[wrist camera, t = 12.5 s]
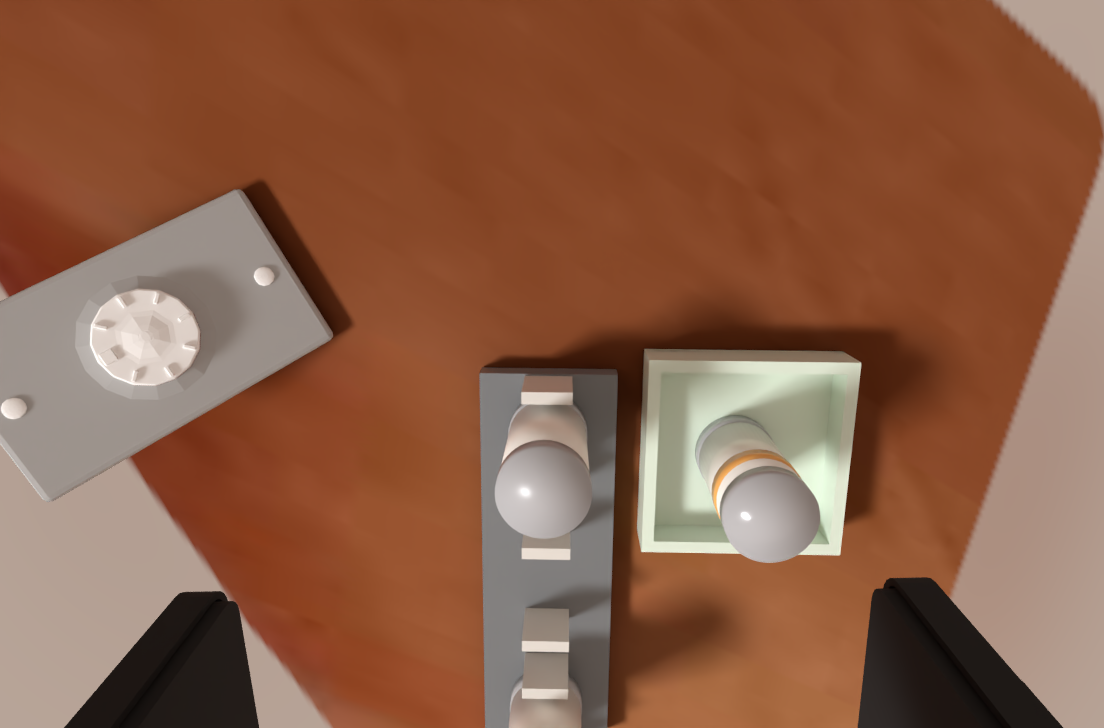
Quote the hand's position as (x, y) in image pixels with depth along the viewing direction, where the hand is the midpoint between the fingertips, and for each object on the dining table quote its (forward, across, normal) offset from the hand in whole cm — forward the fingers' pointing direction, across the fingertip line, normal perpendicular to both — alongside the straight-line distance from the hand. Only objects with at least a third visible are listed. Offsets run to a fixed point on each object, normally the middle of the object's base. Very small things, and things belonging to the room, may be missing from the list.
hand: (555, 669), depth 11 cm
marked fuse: (+27, -9, +8) cm, 29 cm away
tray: (+27, -9, +8) cm, 30 cm away
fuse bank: (+27, +1, +15) cm, 31 cm away
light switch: (+28, +19, +1) cm, 34 cm away
